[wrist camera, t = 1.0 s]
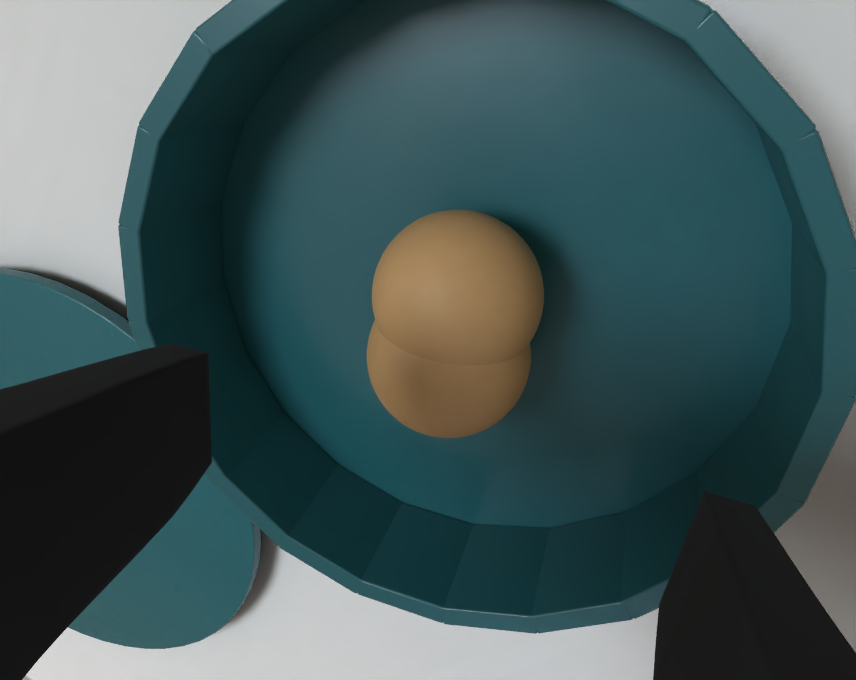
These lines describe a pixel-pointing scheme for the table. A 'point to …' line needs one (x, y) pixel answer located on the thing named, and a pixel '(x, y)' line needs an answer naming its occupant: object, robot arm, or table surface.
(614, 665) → the table surface
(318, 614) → the table surface
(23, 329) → the teal disc
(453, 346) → the potato
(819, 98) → the table surface
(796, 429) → the teal bowl
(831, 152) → the table surface
